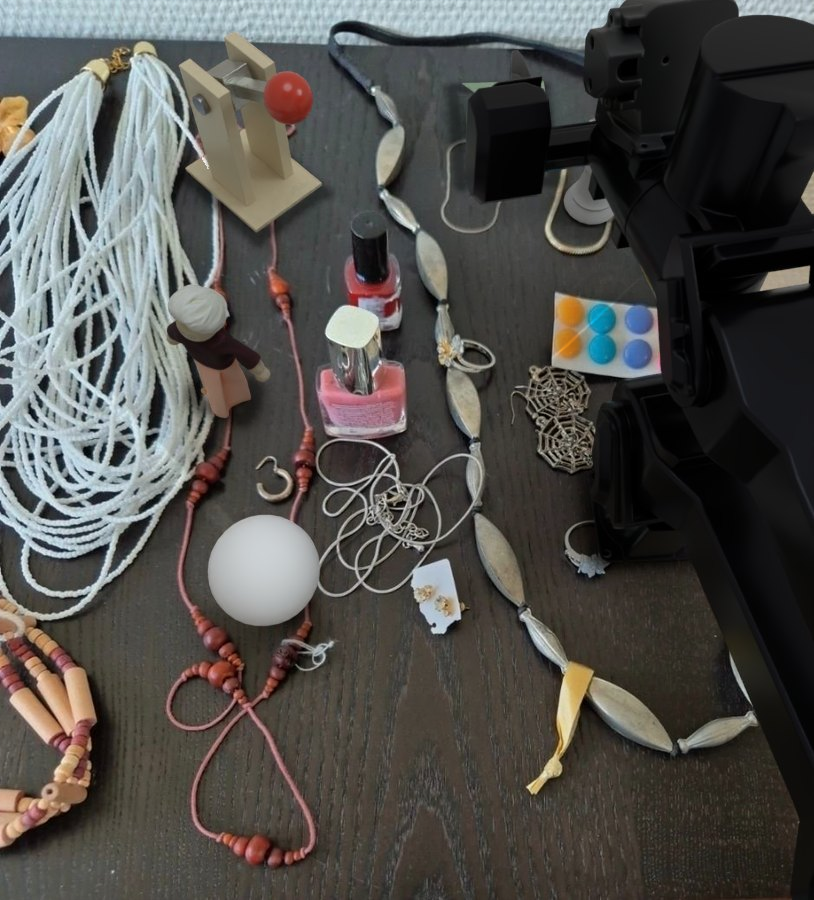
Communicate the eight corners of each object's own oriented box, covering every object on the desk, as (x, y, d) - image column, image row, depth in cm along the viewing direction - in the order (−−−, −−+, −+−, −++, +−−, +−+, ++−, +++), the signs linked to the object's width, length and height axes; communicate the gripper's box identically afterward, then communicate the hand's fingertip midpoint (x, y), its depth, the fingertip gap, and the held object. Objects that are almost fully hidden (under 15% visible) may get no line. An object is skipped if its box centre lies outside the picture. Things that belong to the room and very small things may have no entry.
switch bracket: (323, 193, 65) (307, 71, 54) (258, 240, 63) (228, 123, 52) (253, 134, 68) (224, 7, 57) (188, 178, 66) (146, 55, 55)
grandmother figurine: (173, 411, 57) (114, 310, 45) (192, 366, 58) (140, 258, 47) (275, 435, 56) (242, 338, 44) (291, 388, 57) (264, 284, 46)
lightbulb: (337, 562, 52) (321, 504, 42) (324, 655, 50) (304, 618, 39) (245, 553, 52) (209, 493, 42) (228, 645, 50) (184, 606, 40)
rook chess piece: (570, 241, 63) (592, 167, 56) (551, 199, 65) (570, 122, 57) (622, 229, 64) (651, 155, 56) (602, 188, 65) (627, 111, 58)
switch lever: (329, 112, 52) (311, 64, 50) (292, 137, 51) (272, 89, 49) (248, 92, 59) (229, 49, 56) (215, 115, 58) (194, 72, 55)
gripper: (930, 36, 34) (774, -118, 43) (518, 92, 33) (440, -79, 41) (824, 233, 44) (713, 75, 52) (498, 284, 42) (438, 112, 51)
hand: (585, 47), depth 49 cm, fingers open, 9 cm apart
